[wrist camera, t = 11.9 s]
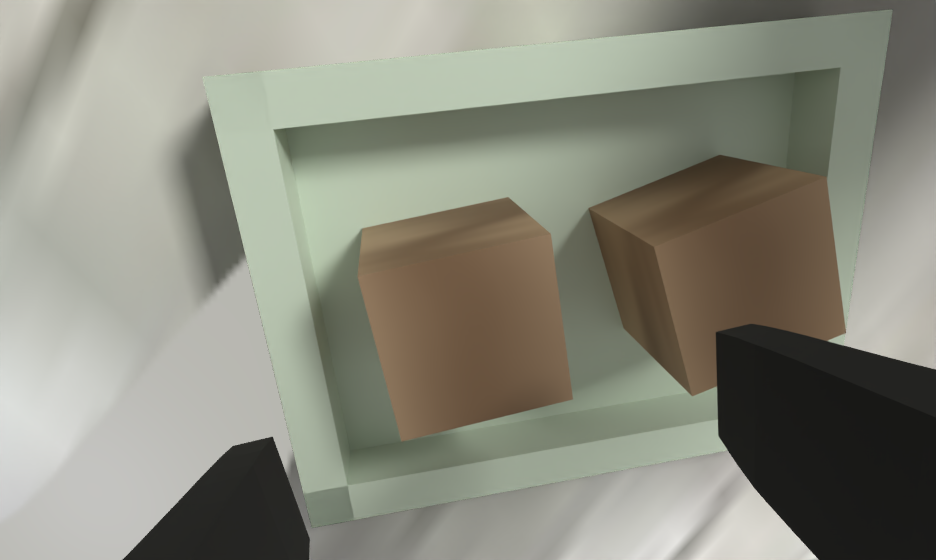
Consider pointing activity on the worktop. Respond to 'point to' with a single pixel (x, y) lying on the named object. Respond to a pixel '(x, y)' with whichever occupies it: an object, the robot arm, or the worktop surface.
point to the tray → (542, 197)
